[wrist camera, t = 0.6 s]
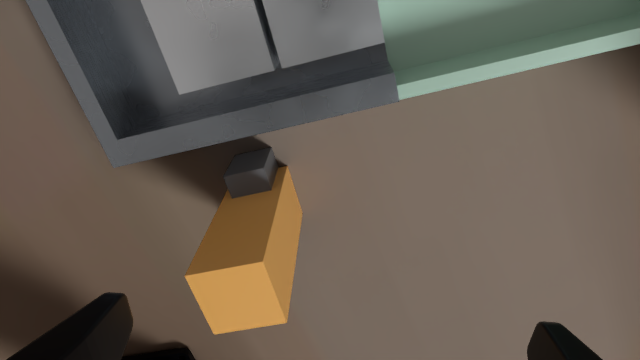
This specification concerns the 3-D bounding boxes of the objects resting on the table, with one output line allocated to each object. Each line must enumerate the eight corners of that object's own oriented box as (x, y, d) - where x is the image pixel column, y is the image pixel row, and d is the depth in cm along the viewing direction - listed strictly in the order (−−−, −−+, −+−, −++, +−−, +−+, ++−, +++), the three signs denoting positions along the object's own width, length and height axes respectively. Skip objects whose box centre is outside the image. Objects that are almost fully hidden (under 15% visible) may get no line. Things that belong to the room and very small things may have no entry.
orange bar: (258, 240, 24) (224, 355, 17) (225, 157, 22) (171, 249, 15) (308, 231, 24) (295, 344, 16) (280, 145, 21) (251, 234, 14)
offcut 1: (201, 77, 19) (179, 94, 17) (166, -15, 18) (135, -13, 15) (283, 55, 19) (274, 70, 16) (255, -42, 17) (240, -44, 14)
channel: (141, 143, 21) (113, 167, 19) (49, -50, 18) (-3, -53, 15) (391, 83, 20) (399, 101, 17) (349, -148, 16) (352, -171, 13)
